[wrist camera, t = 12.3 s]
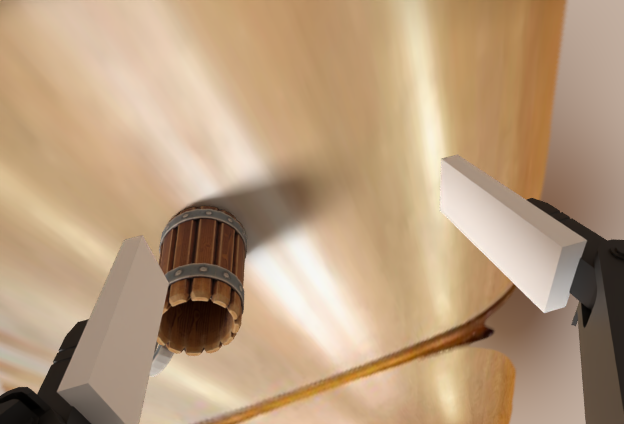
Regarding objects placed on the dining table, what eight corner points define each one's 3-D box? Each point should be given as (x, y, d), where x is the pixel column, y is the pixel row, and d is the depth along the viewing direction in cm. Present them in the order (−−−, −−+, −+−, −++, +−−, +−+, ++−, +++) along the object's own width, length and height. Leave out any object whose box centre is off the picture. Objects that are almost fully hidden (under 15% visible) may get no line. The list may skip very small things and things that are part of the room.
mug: (194, 187, 42) (180, 267, 29) (262, 231, 47) (275, 315, 34) (123, 271, 46) (83, 373, 33) (193, 303, 51) (182, 402, 38)
